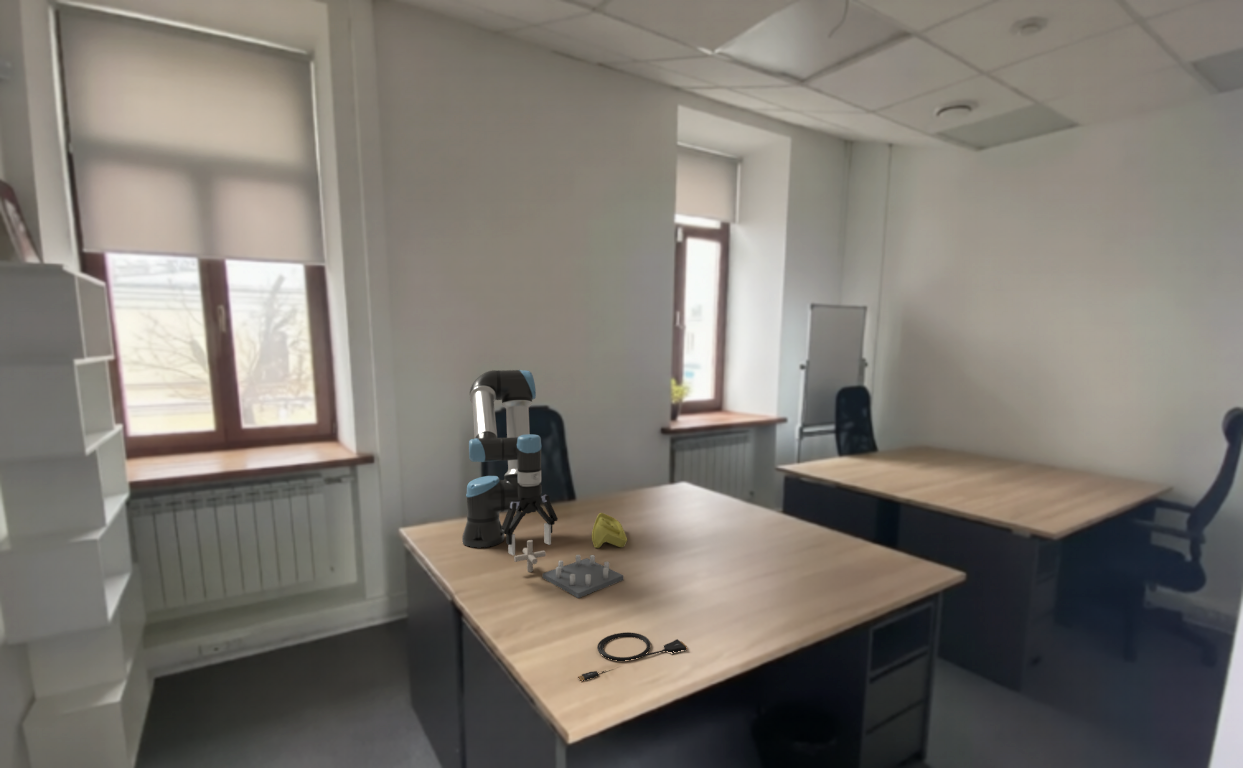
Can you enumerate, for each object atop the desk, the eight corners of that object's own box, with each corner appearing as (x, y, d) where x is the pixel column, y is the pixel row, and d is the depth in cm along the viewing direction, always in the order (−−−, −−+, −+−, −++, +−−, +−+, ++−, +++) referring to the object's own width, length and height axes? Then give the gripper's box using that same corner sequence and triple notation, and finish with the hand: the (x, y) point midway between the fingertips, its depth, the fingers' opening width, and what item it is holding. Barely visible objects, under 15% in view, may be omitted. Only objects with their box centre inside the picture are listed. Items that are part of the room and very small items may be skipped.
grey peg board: (542, 578, 170) (542, 564, 170) (586, 562, 182) (586, 549, 182) (578, 598, 157) (578, 583, 156) (623, 579, 169) (623, 566, 169)
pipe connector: (519, 580, 168) (519, 549, 168) (510, 568, 177) (510, 538, 176) (550, 574, 173) (549, 543, 172) (539, 562, 182) (539, 533, 181)
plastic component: (628, 542, 195) (604, 532, 193) (619, 560, 195) (594, 550, 193) (619, 520, 214) (597, 510, 212) (611, 536, 215) (588, 527, 212)
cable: (559, 652, 131) (559, 646, 130) (660, 626, 143) (660, 620, 143) (580, 684, 118) (580, 678, 118) (688, 652, 131) (688, 646, 131)
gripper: (501, 492, 161) (502, 562, 163) (567, 479, 178) (568, 542, 180) (488, 488, 167) (489, 555, 168) (554, 475, 184) (554, 536, 185)
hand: (530, 548), depth 174 cm, fingers open, 13 cm apart
